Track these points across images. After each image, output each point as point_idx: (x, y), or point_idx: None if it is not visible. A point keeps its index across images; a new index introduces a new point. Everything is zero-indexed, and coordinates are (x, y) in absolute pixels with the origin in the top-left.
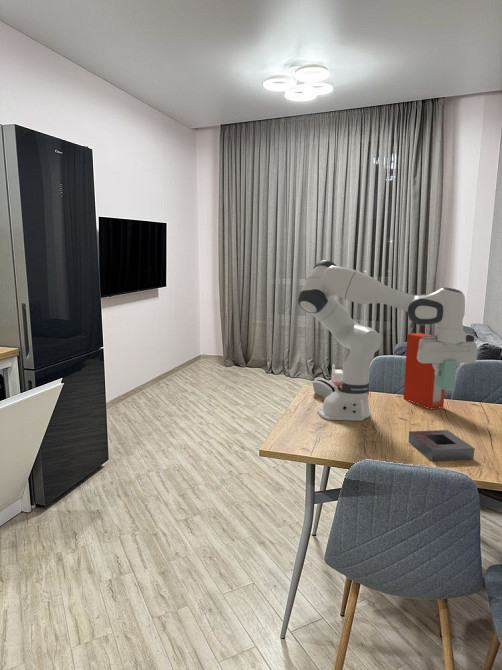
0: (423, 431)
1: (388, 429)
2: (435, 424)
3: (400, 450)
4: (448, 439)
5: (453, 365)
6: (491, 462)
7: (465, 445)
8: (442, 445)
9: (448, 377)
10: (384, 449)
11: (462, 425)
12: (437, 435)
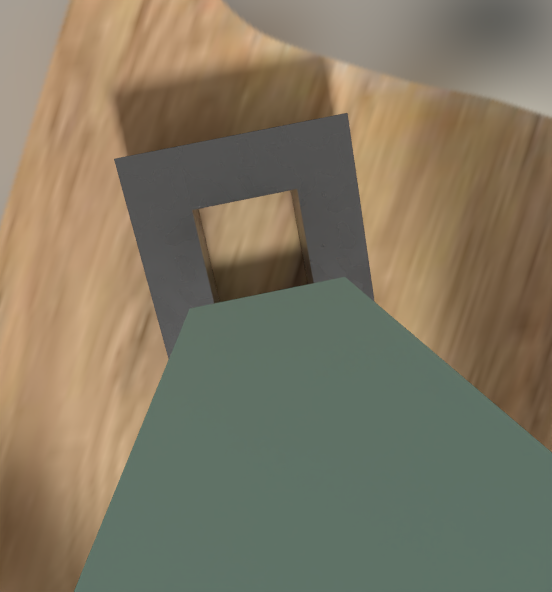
0: None
1: None
2: None
3: (434, 236)
4: (210, 285)
5: (207, 585)
6: (52, 135)
7: (151, 194)
8: (275, 181)
9: (314, 342)
10: (501, 239)
11: (54, 563)
12: None
